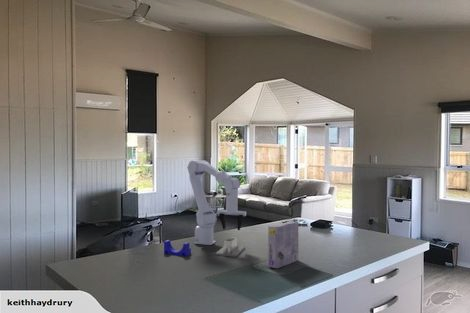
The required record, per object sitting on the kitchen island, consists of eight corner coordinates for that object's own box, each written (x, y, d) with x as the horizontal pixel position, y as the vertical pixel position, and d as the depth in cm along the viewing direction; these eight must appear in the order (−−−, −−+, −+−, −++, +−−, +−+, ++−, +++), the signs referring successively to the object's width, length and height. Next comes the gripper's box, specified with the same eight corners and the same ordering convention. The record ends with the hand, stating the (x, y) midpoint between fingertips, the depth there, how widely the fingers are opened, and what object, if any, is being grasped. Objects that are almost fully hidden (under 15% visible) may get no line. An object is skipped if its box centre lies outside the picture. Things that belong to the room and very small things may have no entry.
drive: (223, 251, 196) (223, 240, 195) (229, 247, 204) (229, 236, 204) (231, 252, 194) (231, 241, 194) (236, 247, 203) (236, 237, 203)
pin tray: (215, 255, 193) (215, 247, 193) (225, 247, 209) (225, 240, 208) (236, 256, 190) (236, 249, 190) (244, 248, 206) (244, 241, 206)
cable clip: (190, 254, 195) (190, 241, 194) (186, 256, 190) (186, 244, 190) (169, 251, 199) (169, 239, 199) (164, 253, 195) (164, 241, 195)
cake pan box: (290, 258, 189) (291, 219, 189) (300, 260, 186) (300, 221, 186) (266, 267, 175) (267, 226, 174) (276, 269, 171) (277, 227, 171)
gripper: (215, 202, 203) (215, 229, 203) (243, 204, 199) (243, 232, 199) (220, 200, 210) (219, 227, 210) (247, 202, 206) (247, 229, 206)
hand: (231, 229), depth 205 cm, fingers open, 7 cm apart
